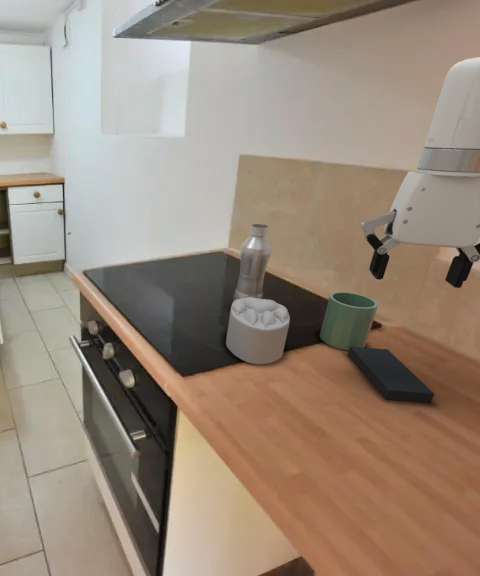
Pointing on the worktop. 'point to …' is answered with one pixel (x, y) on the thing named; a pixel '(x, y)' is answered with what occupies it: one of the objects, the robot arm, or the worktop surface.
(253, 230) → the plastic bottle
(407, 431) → the worktop surface
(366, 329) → the cup
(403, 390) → the dark blue flat block
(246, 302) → the lumpy-topped squat cylinder
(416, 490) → the worktop surface
